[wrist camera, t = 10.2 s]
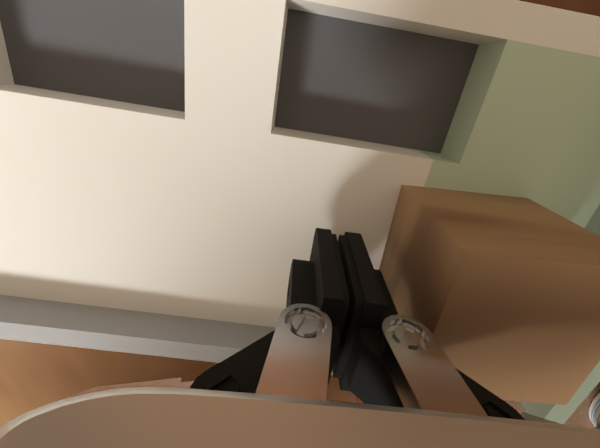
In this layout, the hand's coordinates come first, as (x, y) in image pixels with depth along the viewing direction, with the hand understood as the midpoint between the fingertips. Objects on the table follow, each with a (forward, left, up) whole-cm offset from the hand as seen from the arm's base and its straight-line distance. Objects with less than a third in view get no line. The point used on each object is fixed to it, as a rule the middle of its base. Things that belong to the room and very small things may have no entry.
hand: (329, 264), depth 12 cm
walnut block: (+1, -5, -1) cm, 5 cm away
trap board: (+2, +5, -3) cm, 6 cm away
